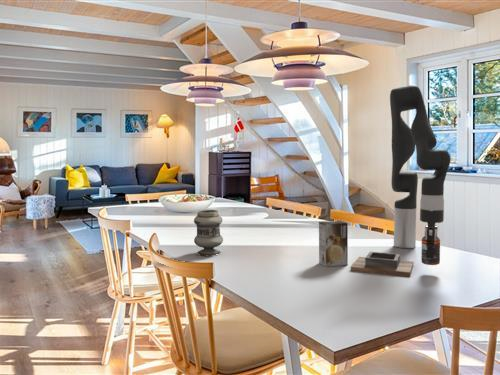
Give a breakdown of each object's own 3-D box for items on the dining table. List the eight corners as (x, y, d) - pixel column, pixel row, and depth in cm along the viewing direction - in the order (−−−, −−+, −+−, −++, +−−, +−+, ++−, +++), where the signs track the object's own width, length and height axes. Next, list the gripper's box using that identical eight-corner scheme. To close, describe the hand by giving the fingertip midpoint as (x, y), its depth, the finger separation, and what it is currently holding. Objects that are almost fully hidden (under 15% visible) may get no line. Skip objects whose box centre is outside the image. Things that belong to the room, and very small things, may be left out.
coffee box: (340, 261, 177) (340, 220, 176) (348, 265, 171) (348, 222, 169) (318, 263, 174) (318, 221, 173) (325, 267, 168) (325, 223, 167)
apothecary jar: (188, 255, 189) (187, 211, 187) (204, 249, 199) (204, 208, 198) (213, 258, 183) (212, 213, 182) (228, 252, 194) (228, 209, 192)
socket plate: (358, 260, 178) (358, 249, 177) (413, 265, 170) (413, 253, 169) (350, 270, 163) (350, 258, 163) (410, 276, 155) (410, 263, 155)
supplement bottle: (435, 261, 161) (436, 229, 160) (442, 265, 155) (443, 232, 154) (418, 261, 161) (419, 229, 160) (425, 265, 155) (426, 232, 154)
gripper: (421, 204, 164) (420, 250, 166) (419, 210, 151) (417, 260, 153) (444, 205, 161) (442, 252, 163) (443, 211, 148) (442, 262, 150)
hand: (430, 255), depth 158 cm, fingers closed on supplement bottle, 6 cm apart
